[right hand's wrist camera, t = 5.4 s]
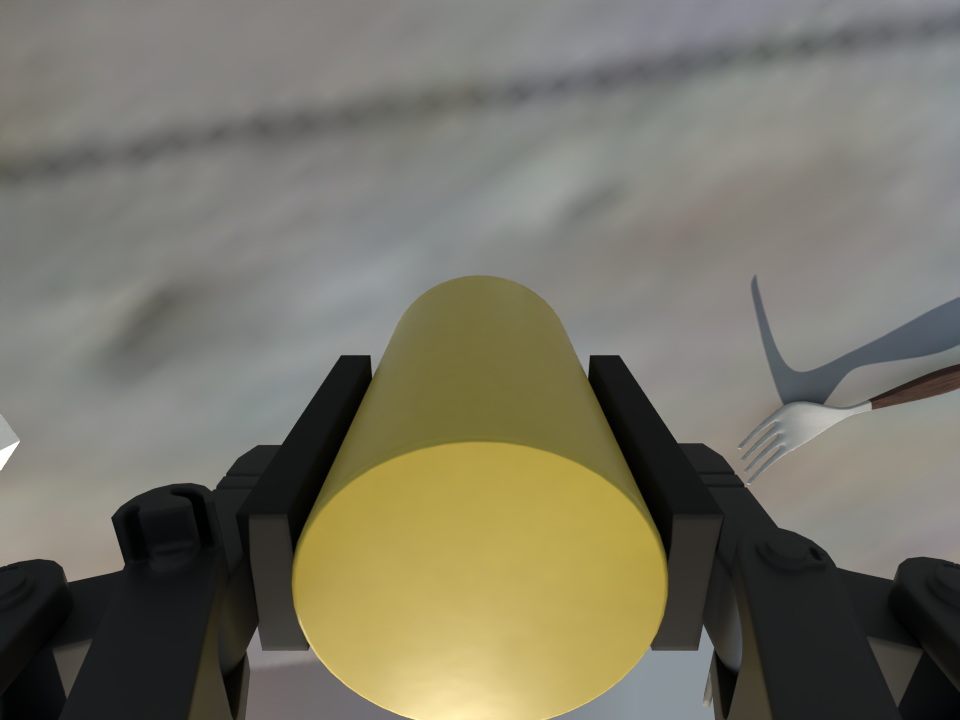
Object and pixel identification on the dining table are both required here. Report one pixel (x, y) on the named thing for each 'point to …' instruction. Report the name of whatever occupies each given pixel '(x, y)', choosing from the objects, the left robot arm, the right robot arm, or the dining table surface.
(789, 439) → the fork
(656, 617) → the can
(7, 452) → the white plastic object
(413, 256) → the dining table surface
